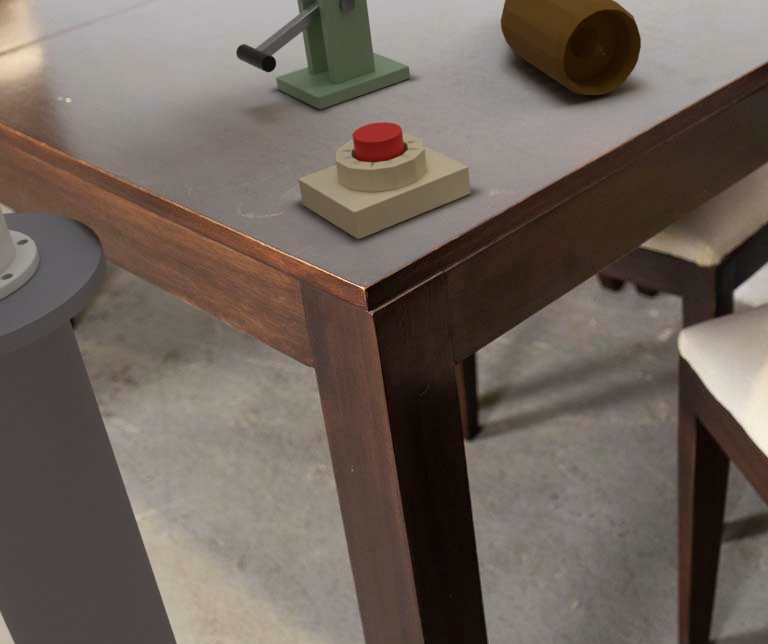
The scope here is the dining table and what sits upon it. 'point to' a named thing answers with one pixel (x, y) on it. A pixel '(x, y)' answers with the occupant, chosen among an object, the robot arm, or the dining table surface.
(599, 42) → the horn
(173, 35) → the dining table surface
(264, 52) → the lever
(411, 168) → the switch block
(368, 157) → the light button
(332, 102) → the mains bracket
